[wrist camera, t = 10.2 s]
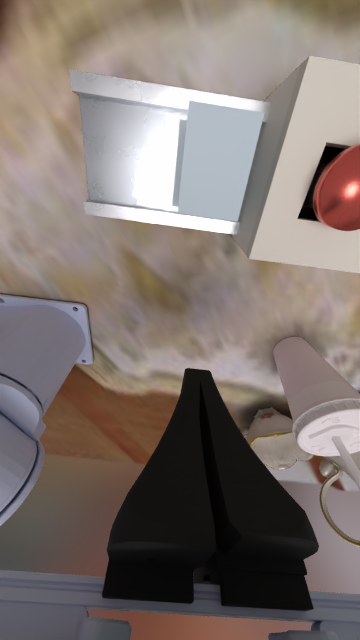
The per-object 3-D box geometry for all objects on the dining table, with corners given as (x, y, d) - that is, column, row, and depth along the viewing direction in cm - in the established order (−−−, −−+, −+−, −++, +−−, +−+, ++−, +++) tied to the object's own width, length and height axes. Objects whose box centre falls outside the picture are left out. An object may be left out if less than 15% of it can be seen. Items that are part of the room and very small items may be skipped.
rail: (94, 210, 17) (84, 213, 15) (84, 83, 13) (69, 69, 12) (232, 229, 18) (237, 234, 16) (261, 112, 14) (271, 103, 12)
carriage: (172, 204, 16) (166, 216, 11) (180, 123, 13) (176, 91, 8) (227, 211, 16) (246, 227, 11) (244, 133, 14) (278, 107, 8)
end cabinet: (231, 235, 18) (248, 258, 13) (265, 92, 13) (314, 39, 8) (313, 247, 18) (362, 273, 13) (375, 110, 14) (486, 70, 9)
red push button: (274, 212, 14) (308, 226, 10) (295, 147, 12) (346, 133, 8) (323, 219, 14) (376, 235, 10) (351, 156, 13) (428, 146, 9)
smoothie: (264, 328, 23) (347, 488, 11) (328, 324, 22) (485, 486, 11) (258, 371, 26) (315, 528, 15) (313, 369, 26) (419, 528, 14)
